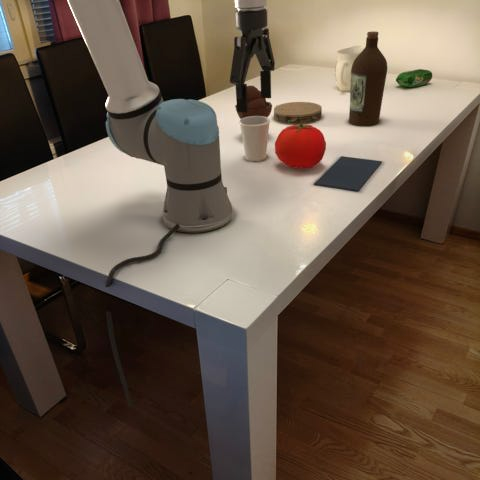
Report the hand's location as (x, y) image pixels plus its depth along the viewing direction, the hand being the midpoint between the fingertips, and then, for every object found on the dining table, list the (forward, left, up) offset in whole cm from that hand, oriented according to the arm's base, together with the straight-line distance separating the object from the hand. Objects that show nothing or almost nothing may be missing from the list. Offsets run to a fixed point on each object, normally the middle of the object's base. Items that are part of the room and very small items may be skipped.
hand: (254, 104), depth 127 cm
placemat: (-2, -27, -14) cm, 31 cm away
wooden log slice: (+39, +4, -14) cm, 41 cm away
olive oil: (+41, -18, -14) cm, 47 cm away
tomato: (-2, -14, -14) cm, 20 cm away
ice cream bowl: (+15, +8, -14) cm, 22 cm away
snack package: (+92, -22, -14) cm, 95 cm away
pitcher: (+79, 0, -14) cm, 80 cm away
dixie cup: (0, 0, -14) cm, 14 cm away
